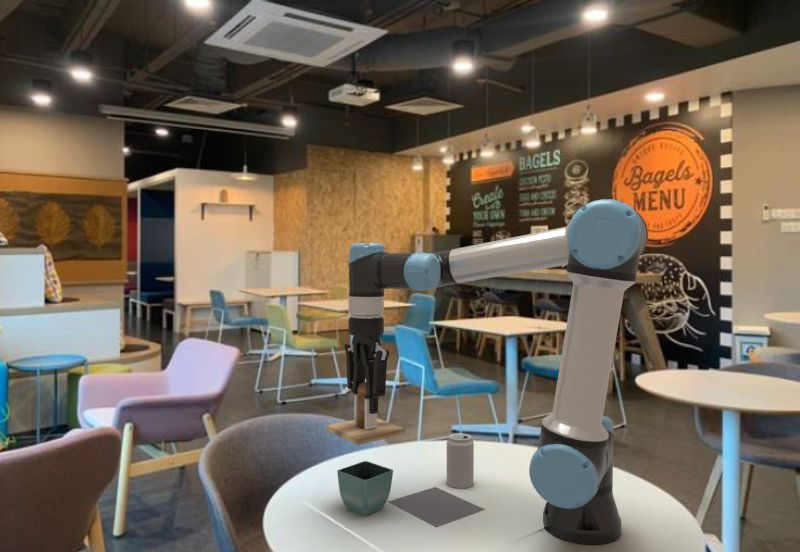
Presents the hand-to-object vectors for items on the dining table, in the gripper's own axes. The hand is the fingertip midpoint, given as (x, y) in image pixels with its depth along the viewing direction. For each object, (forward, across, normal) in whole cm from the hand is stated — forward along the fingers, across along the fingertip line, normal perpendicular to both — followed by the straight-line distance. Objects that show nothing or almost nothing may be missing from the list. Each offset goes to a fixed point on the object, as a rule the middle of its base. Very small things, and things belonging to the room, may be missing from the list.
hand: (365, 425), depth 129 cm
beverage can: (+19, -2, -26) cm, 32 cm away
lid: (+1, 0, 0) cm, 1 cm away
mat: (+18, -8, -13) cm, 24 cm away
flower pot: (+19, 0, 0) cm, 19 cm away
